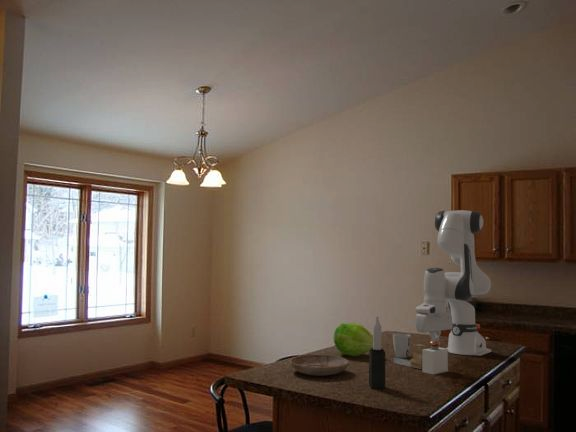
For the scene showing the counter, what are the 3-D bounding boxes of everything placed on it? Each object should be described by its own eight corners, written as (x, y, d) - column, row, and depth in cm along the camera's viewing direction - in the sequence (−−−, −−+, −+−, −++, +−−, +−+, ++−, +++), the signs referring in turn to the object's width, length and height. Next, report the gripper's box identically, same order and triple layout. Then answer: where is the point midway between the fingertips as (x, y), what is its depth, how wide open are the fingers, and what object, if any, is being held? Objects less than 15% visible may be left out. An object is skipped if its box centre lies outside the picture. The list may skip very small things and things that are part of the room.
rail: (396, 362, 227) (396, 357, 227) (431, 370, 212) (431, 365, 212) (393, 362, 226) (393, 358, 226) (428, 370, 211) (428, 365, 211)
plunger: (433, 355, 213) (433, 340, 213) (442, 357, 210) (442, 342, 210) (427, 356, 211) (427, 341, 211) (436, 358, 207) (436, 343, 208)
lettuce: (367, 365, 229) (369, 332, 228) (326, 356, 239) (327, 324, 238) (379, 355, 244) (381, 324, 243) (340, 346, 254) (342, 316, 252)
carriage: (417, 365, 220) (417, 343, 220) (427, 367, 216) (427, 345, 216) (410, 366, 217) (410, 344, 217) (420, 368, 213) (420, 346, 213)
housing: (437, 368, 215) (437, 347, 215) (447, 371, 211) (447, 348, 212) (422, 372, 209) (422, 349, 209) (432, 374, 205) (432, 351, 205)
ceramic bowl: (280, 369, 211) (280, 356, 212) (331, 364, 221) (331, 352, 221) (305, 382, 190) (305, 368, 191) (359, 376, 200) (359, 363, 200)
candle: (368, 385, 186) (368, 315, 188) (382, 385, 187) (382, 315, 189) (371, 389, 181) (372, 317, 183) (386, 389, 182) (386, 317, 184)
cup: (410, 358, 235) (410, 336, 236) (392, 357, 237) (392, 335, 237) (410, 355, 243) (410, 333, 244) (392, 354, 245) (392, 333, 245)
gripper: (443, 305, 220) (443, 338, 219) (412, 308, 208) (413, 343, 207) (456, 307, 215) (456, 340, 214) (425, 309, 203) (426, 345, 202)
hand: (434, 341), depth 210 cm, fingers closed, pressing on plunger
